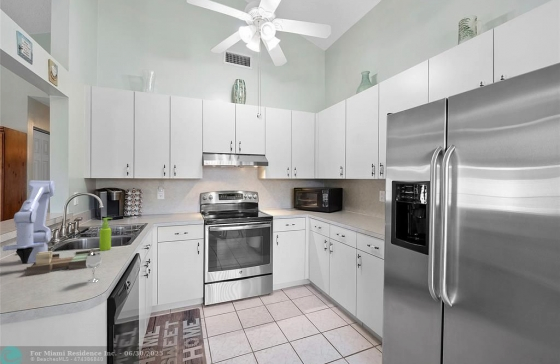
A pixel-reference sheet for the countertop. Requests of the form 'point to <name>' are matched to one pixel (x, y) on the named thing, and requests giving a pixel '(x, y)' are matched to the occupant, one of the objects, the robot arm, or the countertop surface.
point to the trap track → (60, 263)
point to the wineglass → (93, 264)
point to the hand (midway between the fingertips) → (24, 263)
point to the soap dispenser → (105, 236)
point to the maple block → (43, 257)
